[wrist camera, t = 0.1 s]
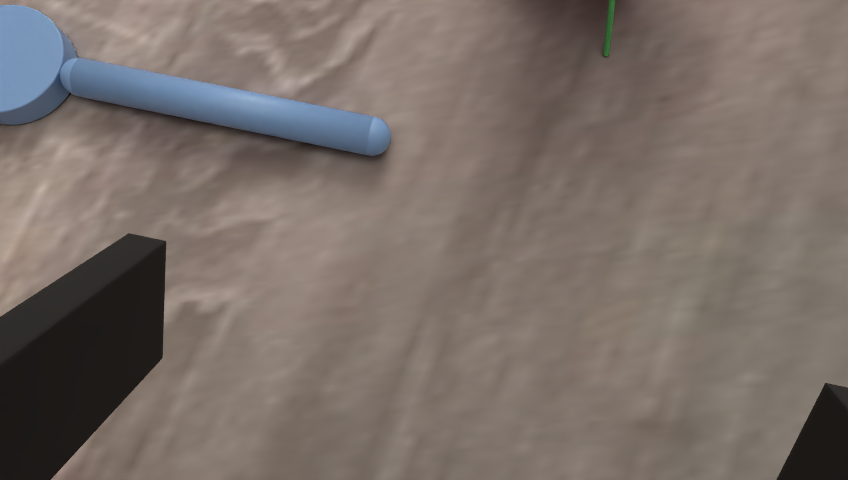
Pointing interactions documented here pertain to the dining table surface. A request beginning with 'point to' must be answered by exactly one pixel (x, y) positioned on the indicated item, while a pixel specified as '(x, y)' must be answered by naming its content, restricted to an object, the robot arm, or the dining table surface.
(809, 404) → the dining table surface
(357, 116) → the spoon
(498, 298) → the dining table surface
